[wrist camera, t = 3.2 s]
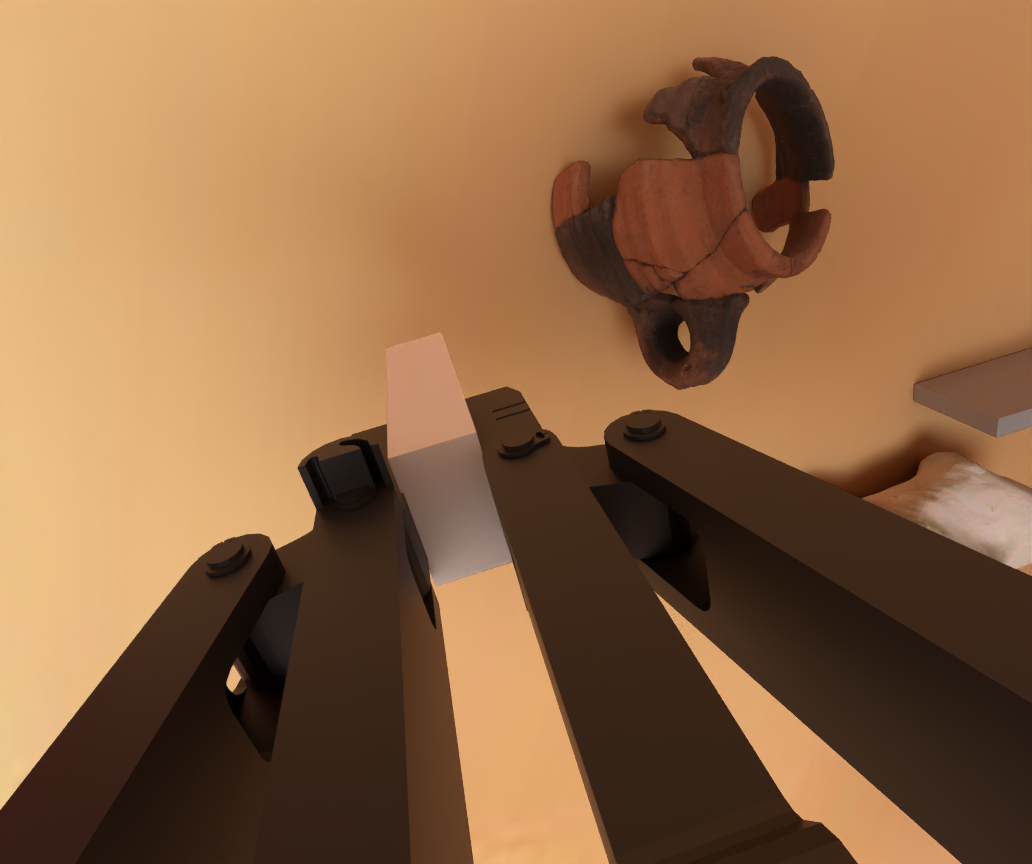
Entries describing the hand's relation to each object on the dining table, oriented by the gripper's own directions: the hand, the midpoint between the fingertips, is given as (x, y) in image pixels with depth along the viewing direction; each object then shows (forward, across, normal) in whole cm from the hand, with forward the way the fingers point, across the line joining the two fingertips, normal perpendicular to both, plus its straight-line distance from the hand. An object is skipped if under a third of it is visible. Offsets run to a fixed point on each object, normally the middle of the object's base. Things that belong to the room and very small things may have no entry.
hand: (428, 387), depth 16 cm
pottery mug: (+11, -11, 0) cm, 16 cm away
